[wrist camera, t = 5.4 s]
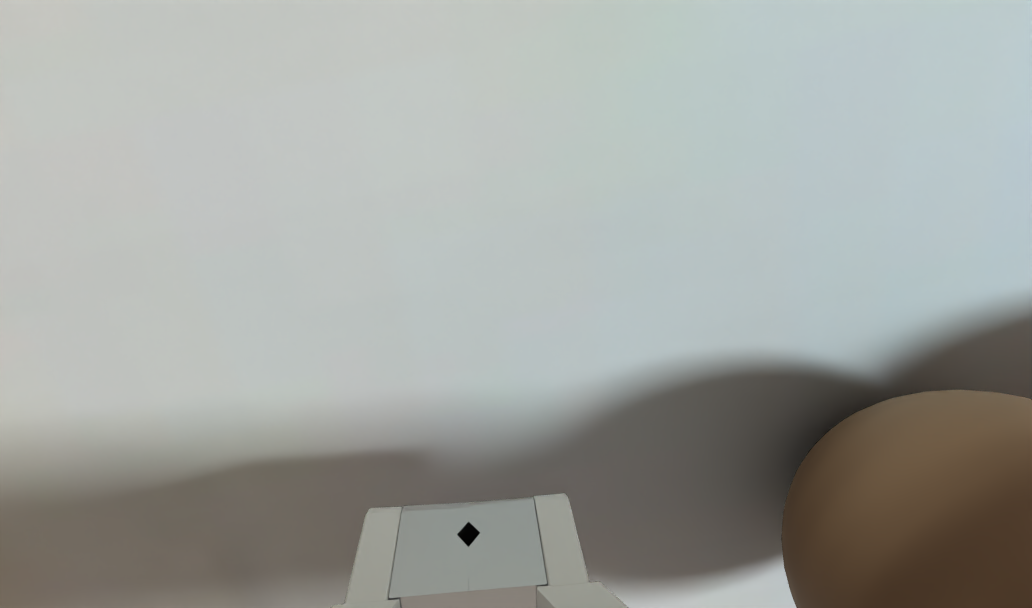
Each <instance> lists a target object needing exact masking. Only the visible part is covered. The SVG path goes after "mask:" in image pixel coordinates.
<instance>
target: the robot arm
mask: <svg viewBox="0 0 1032 608" xmlns="http://www.w3.org/2000/svg"><path fill="white" fill-rule="evenodd" d="M331 608H628V607H627V606H626V605H625V604H624V603H623V602H622V601H621V600H620V599H619V598H618V597H616V596H615V595H614V594H613V593H612V592H611V591H610V590H609V589H608V588H607V587H606V586H605V585H603V584H602V583H601V582H590V581H589V577H588V573H587V569H586V565H585V562H584V558H583V554H582V550H581V546H580V542H579V538H578V534H577V530H576V526H575V522H574V518H573V514H572V510H571V506H570V502H569V498H568V497H567V495H566V494H565V493H562V494H551V495H540V496H533V498H532V497H523V498H512V499H500V500H488V501H476V502H465V503H445V504H426V505H407V506H404V507H382V508H370V509H369V511H368V512H367V514H366V515H365V518H364V523H363V527H362V531H361V535H360V539H359V544H358V548H357V552H356V556H355V560H354V564H353V569H352V573H351V577H350V581H349V585H348V589H347V594H346V598H345V602H344V604H340V605H333V606H332V607H331Z"/></svg>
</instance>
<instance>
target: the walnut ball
mask: <svg viewBox="0 0 1032 608" xmlns="http://www.w3.org/2000/svg"><path fill="white" fill-rule="evenodd" d="M781 539H782V550H783V559H784V568H785V572H786V576H787V580H788V584H789V588H790V591H791V594H792V597H793V600H794V602H795V605H796V607H797V608H1032V399H1030V398H1026V397H1021V396H1015V395H1010V394H1004V393H999V392H988V391H974V390H960V389H959V390H941V391H925V392H919V393H914V394H909V395H904V396H900V397H895V398H891V399H888V400H885V401H882V402H879V403H877V404H874V405H872V406H869V407H867V408H865V409H862V410H860V411H858V412H856V413H854V414H853V415H851V416H849V417H847V418H846V419H844V420H843V421H841V422H840V423H838V424H837V425H836V426H835V427H833V428H832V429H831V430H830V431H828V432H827V433H826V434H825V435H824V436H823V437H822V438H821V439H820V440H819V441H818V442H817V443H816V444H815V445H814V447H813V448H812V449H811V450H810V451H809V453H808V454H807V455H806V457H805V458H804V460H803V461H802V463H801V464H800V466H799V468H798V469H797V471H796V473H795V476H794V478H793V480H792V483H791V486H790V489H789V492H788V495H787V498H786V501H785V506H784V511H783V522H782V537H781Z"/></svg>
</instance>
